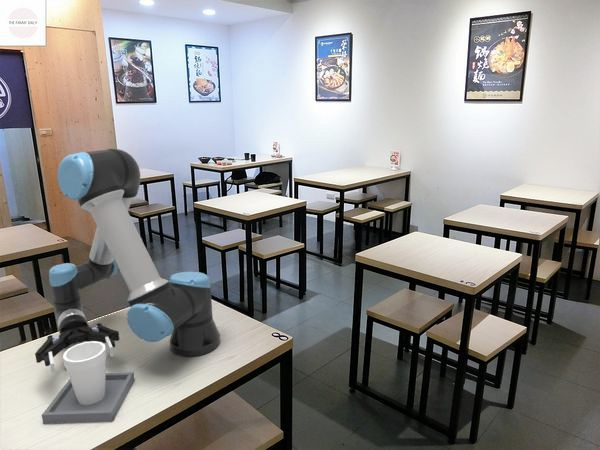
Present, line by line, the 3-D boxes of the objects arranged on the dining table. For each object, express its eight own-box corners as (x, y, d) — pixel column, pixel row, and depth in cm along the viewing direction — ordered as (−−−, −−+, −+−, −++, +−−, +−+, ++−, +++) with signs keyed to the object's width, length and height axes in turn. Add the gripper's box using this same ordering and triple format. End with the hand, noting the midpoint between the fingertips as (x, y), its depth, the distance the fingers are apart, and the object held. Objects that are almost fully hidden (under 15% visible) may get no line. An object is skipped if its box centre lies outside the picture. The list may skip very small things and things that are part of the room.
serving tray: (134, 380, 118) (133, 372, 117) (112, 421, 102) (111, 412, 102) (74, 382, 117) (73, 374, 117) (43, 424, 102) (41, 415, 101)
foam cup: (118, 395, 110) (112, 350, 107) (81, 414, 103) (72, 366, 100) (101, 380, 116) (94, 337, 113) (65, 397, 109) (56, 352, 106)
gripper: (119, 326, 135) (135, 357, 118) (26, 350, 122) (28, 389, 105) (116, 304, 133) (132, 332, 116) (21, 326, 120) (23, 362, 103)
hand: (83, 360), depth 111 cm, fingers open, 13 cm apart
